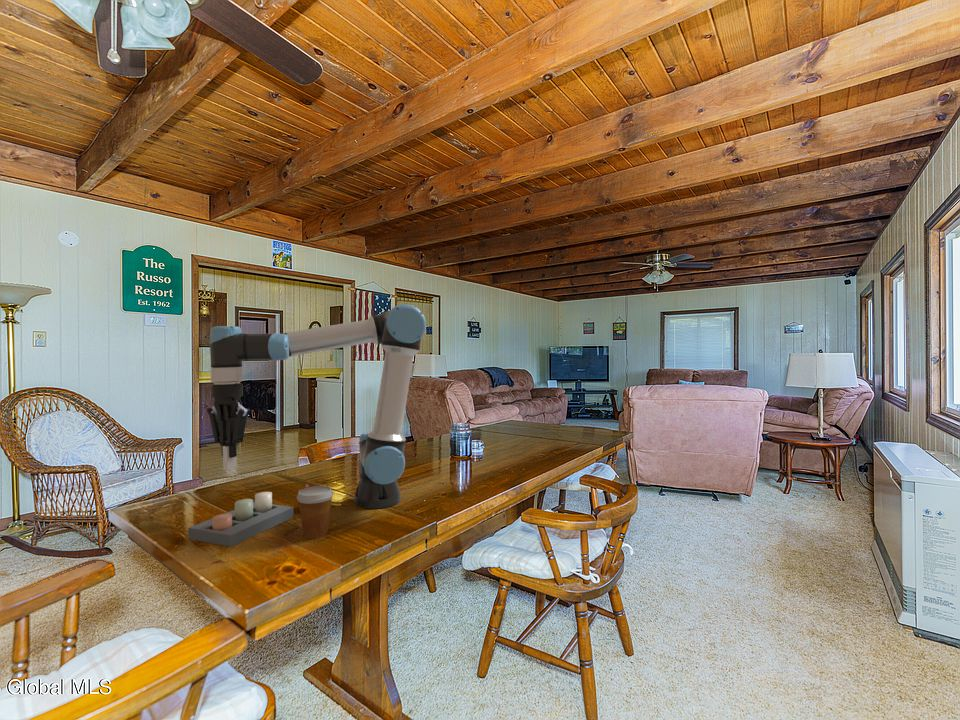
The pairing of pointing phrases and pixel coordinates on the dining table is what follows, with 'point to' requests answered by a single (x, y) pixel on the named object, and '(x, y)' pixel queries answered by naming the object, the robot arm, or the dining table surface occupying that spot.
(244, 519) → the sage button
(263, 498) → the cream short cylinder
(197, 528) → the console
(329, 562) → the dining table surface
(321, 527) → the disposable coffee cup
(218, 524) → the terracotta button
